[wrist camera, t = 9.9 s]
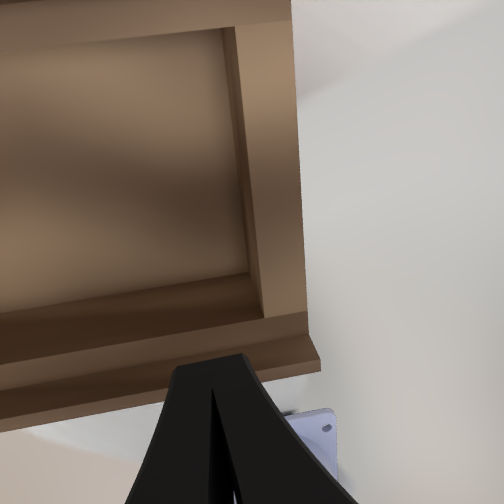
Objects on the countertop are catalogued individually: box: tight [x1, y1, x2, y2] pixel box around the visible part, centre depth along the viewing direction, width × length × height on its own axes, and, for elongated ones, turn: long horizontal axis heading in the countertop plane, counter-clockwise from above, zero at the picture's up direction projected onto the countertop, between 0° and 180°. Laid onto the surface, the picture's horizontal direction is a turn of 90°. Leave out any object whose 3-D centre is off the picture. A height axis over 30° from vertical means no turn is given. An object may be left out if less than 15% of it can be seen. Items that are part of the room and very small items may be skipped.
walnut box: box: [0, 0, 321, 432], centre depth 15 cm, size 12×14×5 cm
